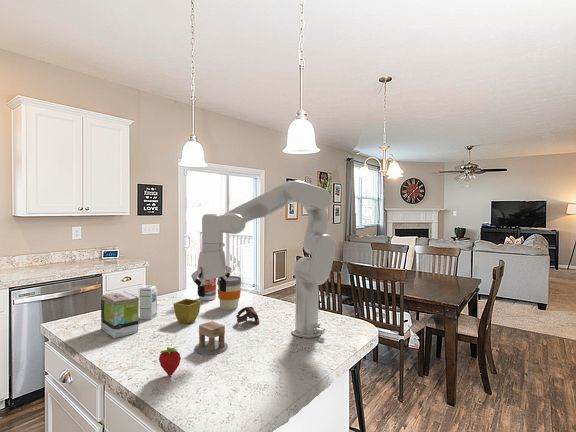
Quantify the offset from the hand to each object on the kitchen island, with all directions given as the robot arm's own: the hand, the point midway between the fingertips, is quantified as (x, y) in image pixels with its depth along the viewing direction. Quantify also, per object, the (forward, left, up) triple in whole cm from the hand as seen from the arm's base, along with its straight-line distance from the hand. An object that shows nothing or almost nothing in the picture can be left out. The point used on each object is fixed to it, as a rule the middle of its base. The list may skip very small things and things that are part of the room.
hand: (212, 293), depth 123 cm
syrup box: (+49, -1, -20) cm, 53 cm away
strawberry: (-7, +21, -20) cm, 30 cm away
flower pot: (+31, -10, -20) cm, 38 cm away
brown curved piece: (+9, -28, -21) cm, 36 cm away
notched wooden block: (0, 0, -20) cm, 20 cm away
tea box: (+42, +15, -21) cm, 49 cm away
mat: (0, 0, -20) cm, 20 cm away
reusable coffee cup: (+34, -37, -20) cm, 54 cm away
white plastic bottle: (+55, -39, -20) cm, 70 cm away
